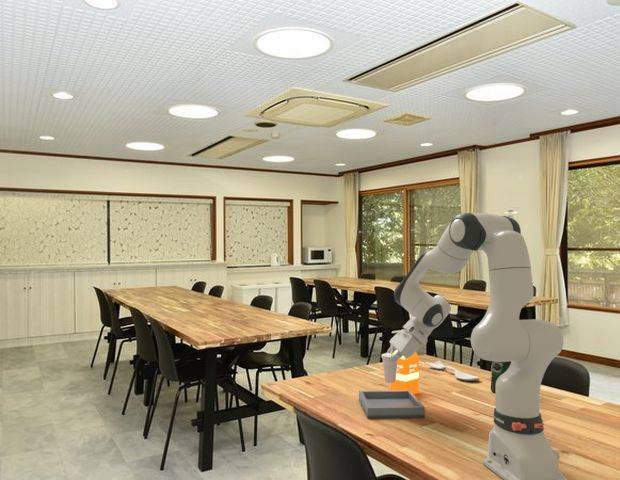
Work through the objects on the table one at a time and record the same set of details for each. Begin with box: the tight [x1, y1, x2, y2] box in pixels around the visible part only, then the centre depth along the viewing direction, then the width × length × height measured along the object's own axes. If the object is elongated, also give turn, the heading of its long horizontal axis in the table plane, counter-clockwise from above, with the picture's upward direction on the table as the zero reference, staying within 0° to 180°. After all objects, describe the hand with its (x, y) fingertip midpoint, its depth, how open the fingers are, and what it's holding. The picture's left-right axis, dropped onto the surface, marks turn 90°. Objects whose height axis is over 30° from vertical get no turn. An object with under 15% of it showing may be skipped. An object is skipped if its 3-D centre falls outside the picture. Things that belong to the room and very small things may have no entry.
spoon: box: [424, 360, 480, 382], centre depth 227 cm, size 9×32×4 cm, turn 21°
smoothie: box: [381, 343, 398, 384], centre depth 179 cm, size 6×6×14 cm
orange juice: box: [390, 350, 420, 395], centre depth 198 cm, size 8×9×20 cm
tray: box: [358, 390, 426, 419], centre depth 178 cm, size 20×20×4 cm
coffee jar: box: [490, 361, 512, 394], centre depth 198 cm, size 10×8×19 cm
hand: (388, 359), depth 179 cm, fingers closed on smoothie, 6 cm apart
